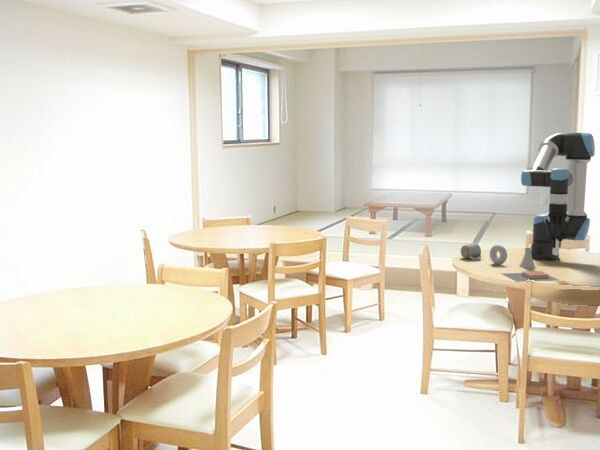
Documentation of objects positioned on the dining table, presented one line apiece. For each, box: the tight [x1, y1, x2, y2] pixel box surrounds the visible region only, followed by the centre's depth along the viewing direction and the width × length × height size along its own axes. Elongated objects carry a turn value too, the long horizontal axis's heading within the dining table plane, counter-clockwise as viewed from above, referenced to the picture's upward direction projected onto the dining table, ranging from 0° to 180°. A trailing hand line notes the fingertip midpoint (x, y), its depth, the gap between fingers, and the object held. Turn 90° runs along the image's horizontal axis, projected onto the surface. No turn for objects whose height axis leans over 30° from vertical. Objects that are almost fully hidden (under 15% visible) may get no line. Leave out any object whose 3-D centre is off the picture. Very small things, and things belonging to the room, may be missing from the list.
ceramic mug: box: [460, 242, 482, 262], centre depth 333 cm, size 11×8×8 cm
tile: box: [521, 270, 550, 279], centre depth 290 cm, size 2×7×9 cm
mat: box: [501, 272, 559, 283], centre depth 289 cm, size 20×16×1 cm
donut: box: [489, 244, 508, 265], centre depth 319 cm, size 10×4×10 cm, turn 32°
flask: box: [518, 247, 537, 269], centre depth 310 cm, size 7×7×10 cm
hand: (555, 254), depth 291 cm, fingers closed
